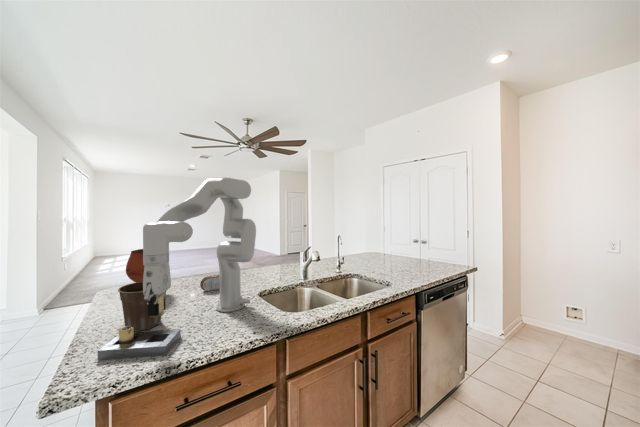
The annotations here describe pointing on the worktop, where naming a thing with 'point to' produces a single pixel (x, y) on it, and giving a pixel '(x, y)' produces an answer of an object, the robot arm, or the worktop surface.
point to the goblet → (135, 266)
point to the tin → (210, 283)
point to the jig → (139, 344)
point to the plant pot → (136, 307)
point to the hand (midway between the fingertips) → (156, 312)
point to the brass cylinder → (160, 304)
